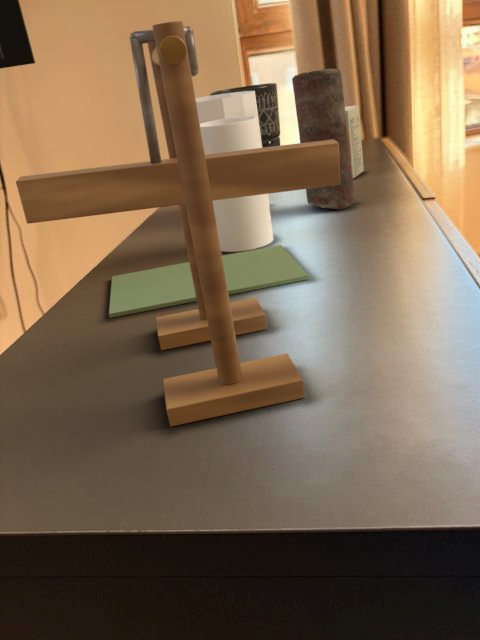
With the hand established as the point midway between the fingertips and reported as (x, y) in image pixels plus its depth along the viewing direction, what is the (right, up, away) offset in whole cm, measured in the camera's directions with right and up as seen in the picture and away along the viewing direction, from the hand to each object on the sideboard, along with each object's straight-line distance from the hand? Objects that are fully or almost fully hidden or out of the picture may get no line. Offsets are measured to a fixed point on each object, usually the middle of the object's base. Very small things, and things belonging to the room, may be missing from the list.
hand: (1, 64), depth 43 cm
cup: (+15, -5, +45) cm, 48 cm away
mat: (+11, -11, +33) cm, 36 cm away
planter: (+16, +15, +87) cm, 90 cm away
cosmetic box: (+34, +14, +79) cm, 87 cm away
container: (+12, +4, +65) cm, 66 cm away
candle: (+28, +3, +58) cm, 65 cm away
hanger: (+12, -8, +6) cm, 15 cm away
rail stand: (+14, -20, +12) cm, 27 cm away
